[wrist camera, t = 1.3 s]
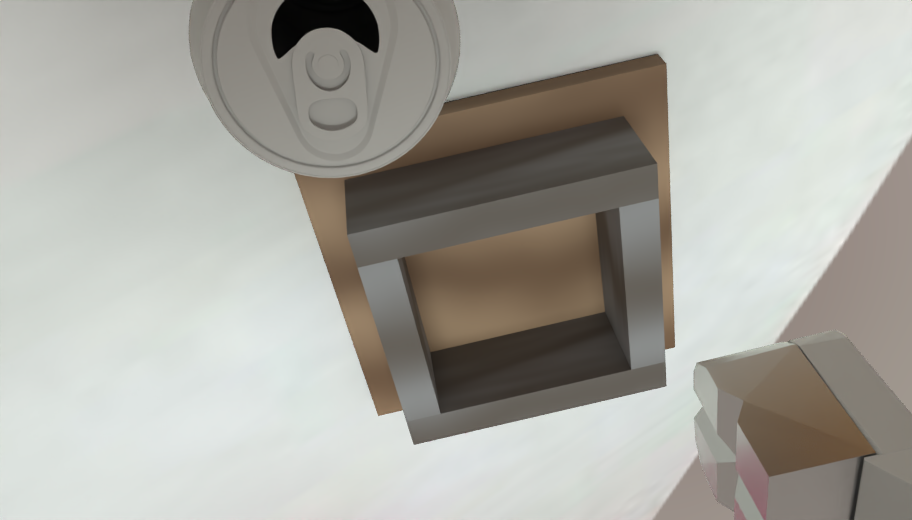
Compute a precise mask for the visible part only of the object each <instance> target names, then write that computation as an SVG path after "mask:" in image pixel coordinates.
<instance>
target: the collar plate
mask: <svg viewBox="0 0 912 520" xmlns="http://www.w3.org/2000/svg"><path fill="white" fill-rule="evenodd" d="M294 174H295V177H296V180H297V183H298V186H299V188H300V191H301V194H302V197H303V200H304V203H305V206H306V209H307V212H308V214H309V217H310V220H311V223H312V226H313V229H314V232H315V235H316V237H317V240H318V243H319V246H320V249H321V252H322V255H323V258H324V261H325V263H326V266H327V269H328V272H329V275H330V278H331V281H332V284H333V287H334V289H335V292H336V295H337V298H338V301H339V304H340V307H341V310H342V312H343V315H344V318H345V321H346V324H347V327H348V330H349V333H350V336H351V338H352V341H353V344H354V347H355V350H356V353H357V356H358V359H359V362H360V364H361V367H362V370H363V373H364V376H365V379H366V382H367V385H368V387H369V390H370V393H371V396H372V399H373V402H374V405H375V408H376V411H377V413H378V416H380V415H384V414H388V413H393V412H397V411H401V410H403V412H404V415H405V418H406V421H407V425H408V428H409V431H410V434H411V437H412V440H413V443H414V445H415V444H419V443H424V442H428V441H432V440H437V439H441V438H445V437H450V436H454V435H458V434H462V433H467V432H471V431H475V430H480V429H484V428H488V427H493V426H497V425H501V424H506V423H510V422H514V421H519V420H523V419H527V418H532V417H536V416H540V415H544V414H549V413H553V412H557V411H562V410H566V409H570V408H575V407H579V406H583V405H588V404H592V403H596V402H601V401H605V400H609V399H614V398H618V397H622V396H626V395H631V394H635V393H639V392H644V391H648V390H652V389H657V388H661V387H665V386H666V365H665V349H669V348H674V347H675V333H674V300H673V267H672V234H671V201H670V168H669V135H668V102H667V69H666V63H665V62H664V61H663V59H662V58H661V57H660V56H659V55H658V54H656V55H652V56H648V57H643V58H639V59H635V60H630V61H626V62H621V63H617V64H613V65H608V66H604V67H600V68H595V69H591V70H587V71H582V72H578V73H574V74H569V75H565V76H560V77H556V78H552V79H547V80H543V81H539V82H534V83H530V84H526V85H521V86H517V87H513V88H508V89H504V90H500V91H495V92H491V93H486V94H482V95H478V96H473V97H469V98H465V99H460V100H456V101H452V102H447V103H444V105H443V107H442V109H441V111H440V113H439V115H438V117H437V119H436V121H435V122H434V124H433V125H432V127H431V128H430V130H429V131H428V132H427V133H426V135H425V136H424V137H423V138H422V139H421V140H420V141H419V142H418V143H417V144H416V145H415V146H414V147H413V148H412V149H411V150H409V151H408V152H407V153H406V154H404V155H403V156H401V157H400V158H398V159H397V160H395V161H393V162H391V163H390V164H388V165H386V166H384V167H381V168H379V169H377V170H374V171H371V172H368V173H364V174H361V175H356V176H350V177H342V178H318V177H311V176H304V175H300V174H296V173H294Z"/></svg>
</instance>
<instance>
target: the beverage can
mask: <svg viewBox="0 0 912 520" xmlns="http://www.w3.org/2000/svg"><path fill="white" fill-rule="evenodd" d="M189 43H190V52H191V58H192V62H193V65H194V69H195V71H196V74H197V77H198V80H199V82H200V84H201V86H202V89H203V91H204V92H205V94H206V96H207V98H208V100H209V101H210V103H211V106H212V108H213V109H214V111H215V113H216V115H217V116H218V118H219V119H220V121H221V122H222V124H223V125H224V126H225V128H226V129H227V130H228V131H229V133H230V134H231V135H232V136H233V137H234V138H235V139H236V140H237V141H238V142H239V143H240V144H241V145H243V146H244V147H245V148H246V149H247V150H249V151H250V152H251V153H253V154H254V155H256V156H257V157H259V158H260V159H262V160H264V161H266V162H268V163H270V164H272V165H274V166H276V167H278V168H281V169H283V170H286V171H289V172H292V173H296V174H300V175H304V176H311V177H318V178H342V177H350V176H356V175H361V174H364V173H368V172H371V171H374V170H377V169H379V168H381V167H384V166H386V165H388V164H390V163H391V162H393V161H395V160H397V159H398V158H400V157H401V156H403V155H404V154H406V153H407V152H408V151H409V150H411V149H412V148H413V147H414V146H415V145H416V144H417V143H418V142H419V141H420V140H421V139H422V138H423V137H424V136H425V135H426V133H427V132H428V131H429V130H430V128H431V127H432V125H433V124H434V122H435V121H436V119H437V117H438V115H439V113H440V111H441V109H442V107H443V105H444V102H445V100H446V98H447V96H448V94H449V92H450V90H451V87H452V85H453V82H454V79H455V75H456V72H457V67H458V62H459V54H460V30H459V22H458V16H457V12H456V8H455V5H454V2H453V0H193V2H192V6H191V11H190V20H189Z"/></svg>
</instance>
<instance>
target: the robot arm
mask: <svg viewBox="0 0 912 520" xmlns="http://www.w3.org/2000/svg"><path fill="white" fill-rule="evenodd" d="M694 391H695V393H696V395H697V397H698V398H699V400H700V402H701V404H702V406H703V407H702V408H701V409H700V411H699V412H698V413H697V415H696V416H695V417H694V425H695V440H696V445H697V449H698V453H699V458H700V462H701V465H702V468H703V471H704V473H705V476H706V479H707V481H708V483H709V486H710V488H711V490H712V492H713V494H714V496H715V498H716V500H717V502H719V503H721V504H722V505H724V506H726V507H727V508H729V509H730V510H732V511H734V520H912V414H911V413H910V411H909V410H908V409H907V408H906V407H905V405H904V404H903V403H902V402H901V401H900V400H899V398H898V397H897V396H896V395H895V394H894V392H893V391H892V390H891V389H890V388H889V386H888V385H887V384H886V383H885V382H884V380H883V379H882V378H881V377H880V376H879V374H878V373H877V372H876V371H875V370H874V368H873V367H872V366H871V365H870V364H869V363H868V361H867V360H866V359H865V358H864V356H863V355H861V353H860V352H859V351H858V349H857V348H856V347H855V346H854V345H853V343H852V342H851V341H850V340H849V339H848V337H847V336H846V335H845V334H843V333H841V332H839V331H837V330H831V331H827V332H823V333H819V334H814V335H810V336H806V337H802V338H798V339H794V340H790V341H788V342H781V343H776V344H772V345H768V346H764V347H760V348H756V349H751V350H747V351H743V352H739V353H735V354H731V355H727V356H723V357H719V358H715V359H710V360H706V361H702V362H698V363H696V366H695V369H694Z"/></svg>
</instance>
